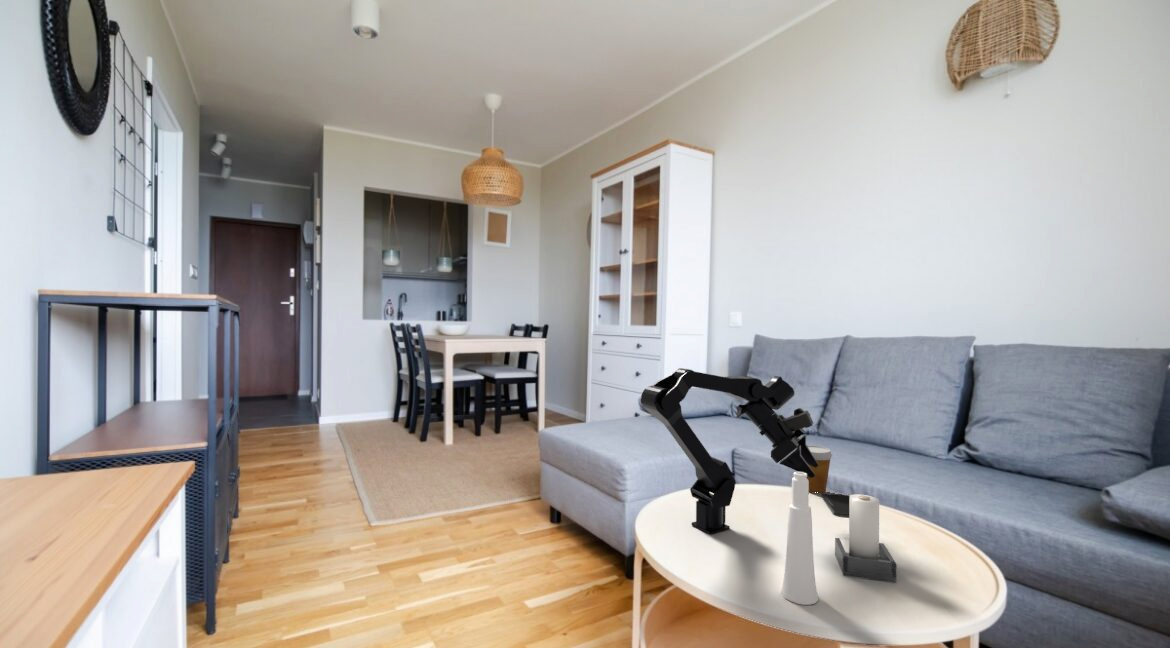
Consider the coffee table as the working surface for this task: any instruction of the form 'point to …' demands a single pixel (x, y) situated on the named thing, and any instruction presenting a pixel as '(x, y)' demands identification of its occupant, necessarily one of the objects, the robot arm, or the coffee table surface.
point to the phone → (837, 504)
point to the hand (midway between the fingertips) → (815, 471)
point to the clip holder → (866, 564)
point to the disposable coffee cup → (819, 469)
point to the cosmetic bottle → (800, 546)
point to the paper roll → (863, 526)
